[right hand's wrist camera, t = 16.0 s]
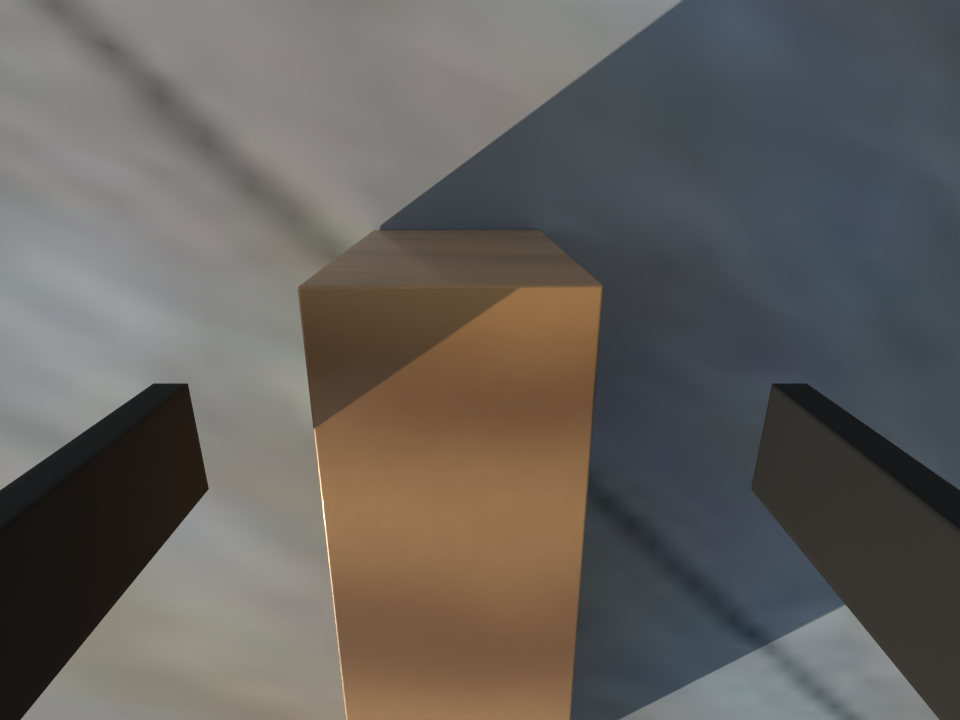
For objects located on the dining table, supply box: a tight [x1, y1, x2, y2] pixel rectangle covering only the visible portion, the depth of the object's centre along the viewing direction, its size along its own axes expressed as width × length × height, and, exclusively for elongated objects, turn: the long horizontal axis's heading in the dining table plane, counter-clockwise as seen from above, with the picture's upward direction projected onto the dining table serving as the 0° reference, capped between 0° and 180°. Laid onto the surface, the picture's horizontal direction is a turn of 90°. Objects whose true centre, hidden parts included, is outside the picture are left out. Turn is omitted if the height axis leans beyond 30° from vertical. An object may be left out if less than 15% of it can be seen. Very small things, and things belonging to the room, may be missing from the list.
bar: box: [298, 230, 603, 720], centre depth 20 cm, size 27×6×9 cm, turn 0°
